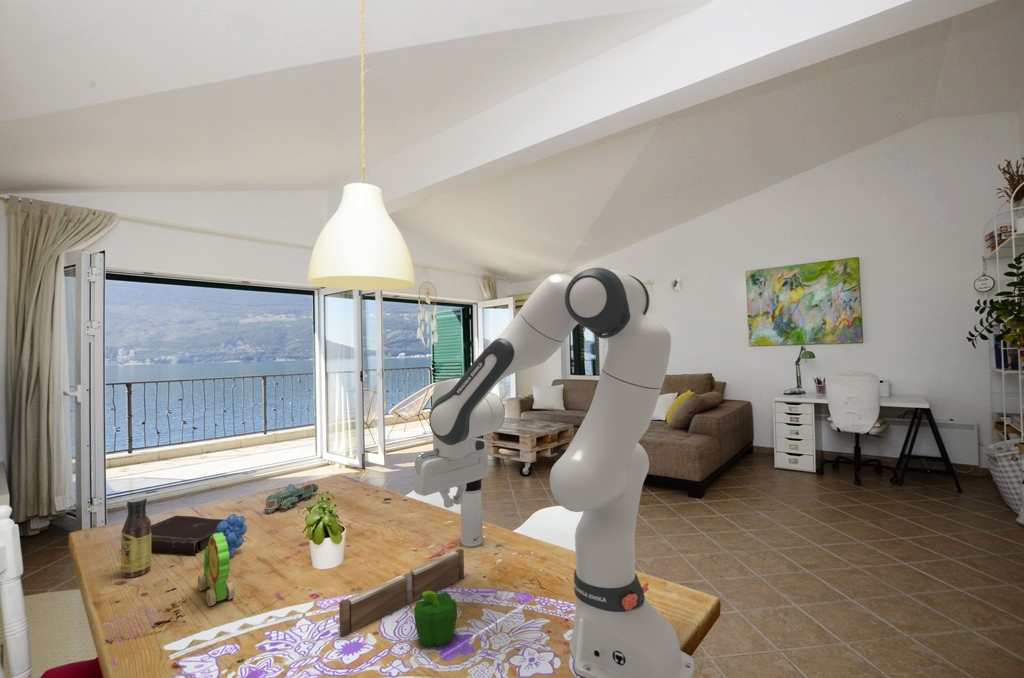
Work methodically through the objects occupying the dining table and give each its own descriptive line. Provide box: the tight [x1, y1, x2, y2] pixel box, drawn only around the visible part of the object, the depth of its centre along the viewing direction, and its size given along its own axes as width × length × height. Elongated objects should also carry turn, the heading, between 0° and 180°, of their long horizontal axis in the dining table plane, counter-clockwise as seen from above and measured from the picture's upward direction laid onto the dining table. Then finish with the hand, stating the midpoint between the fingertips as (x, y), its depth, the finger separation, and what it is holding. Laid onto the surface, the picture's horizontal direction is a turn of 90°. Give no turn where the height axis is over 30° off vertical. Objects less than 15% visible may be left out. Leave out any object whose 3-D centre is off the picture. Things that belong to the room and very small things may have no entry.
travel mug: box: [460, 479, 484, 549], centre depth 137 cm, size 6×7×20 cm
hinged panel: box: [409, 548, 465, 602], centre depth 112 cm, size 2×15×7 cm, turn 137°
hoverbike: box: [263, 479, 319, 514], centre depth 180 cm, size 10×25×8 cm, turn 159°
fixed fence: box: [338, 572, 413, 638], centre depth 100 cm, size 2×17×7 cm, turn 137°
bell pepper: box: [413, 591, 458, 648], centre depth 92 cm, size 8×8×10 cm
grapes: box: [214, 513, 248, 559], centre depth 133 cm, size 12×7×12 cm, turn 161°
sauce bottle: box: [120, 496, 152, 579], centre depth 125 cm, size 7×6×20 cm
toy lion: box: [197, 532, 235, 607], centre depth 112 cm, size 16×5×15 cm, turn 44°
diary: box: [151, 515, 227, 557], centre depth 146 cm, size 19×25×5 cm
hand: (453, 505), depth 109 cm, fingers closed
